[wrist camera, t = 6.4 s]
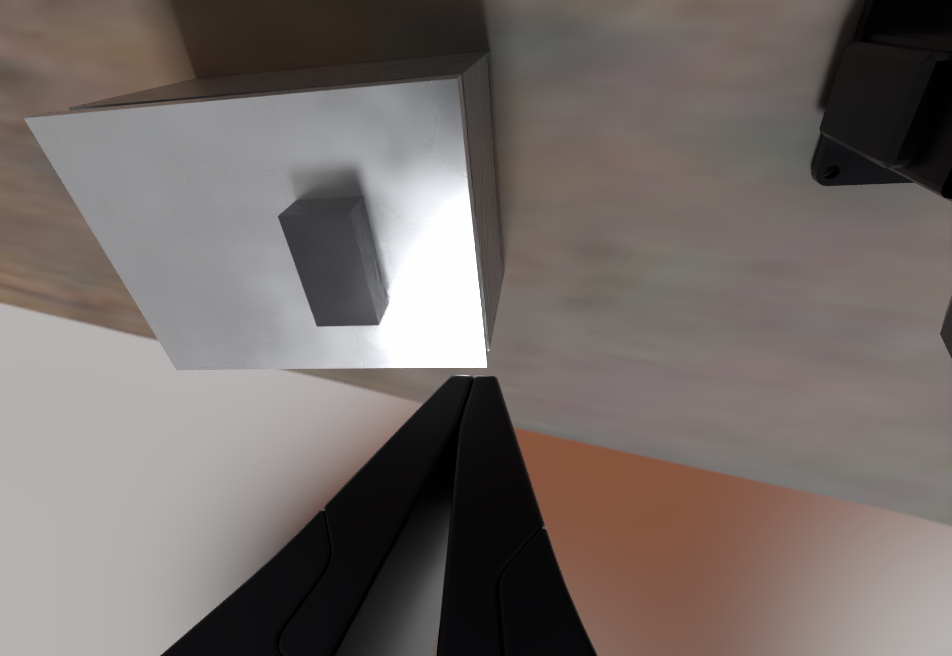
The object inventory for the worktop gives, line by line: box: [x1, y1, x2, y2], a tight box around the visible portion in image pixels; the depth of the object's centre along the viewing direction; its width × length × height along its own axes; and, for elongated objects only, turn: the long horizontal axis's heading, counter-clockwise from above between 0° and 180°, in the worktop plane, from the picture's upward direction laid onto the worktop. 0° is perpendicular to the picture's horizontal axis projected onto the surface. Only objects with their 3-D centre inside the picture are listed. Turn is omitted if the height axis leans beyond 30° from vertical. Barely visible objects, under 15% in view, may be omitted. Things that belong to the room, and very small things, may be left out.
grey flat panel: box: [24, 74, 488, 370], centre depth 14 cm, size 12×9×2 cm
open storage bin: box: [69, 51, 504, 351], centre depth 18 cm, size 12×9×6 cm
